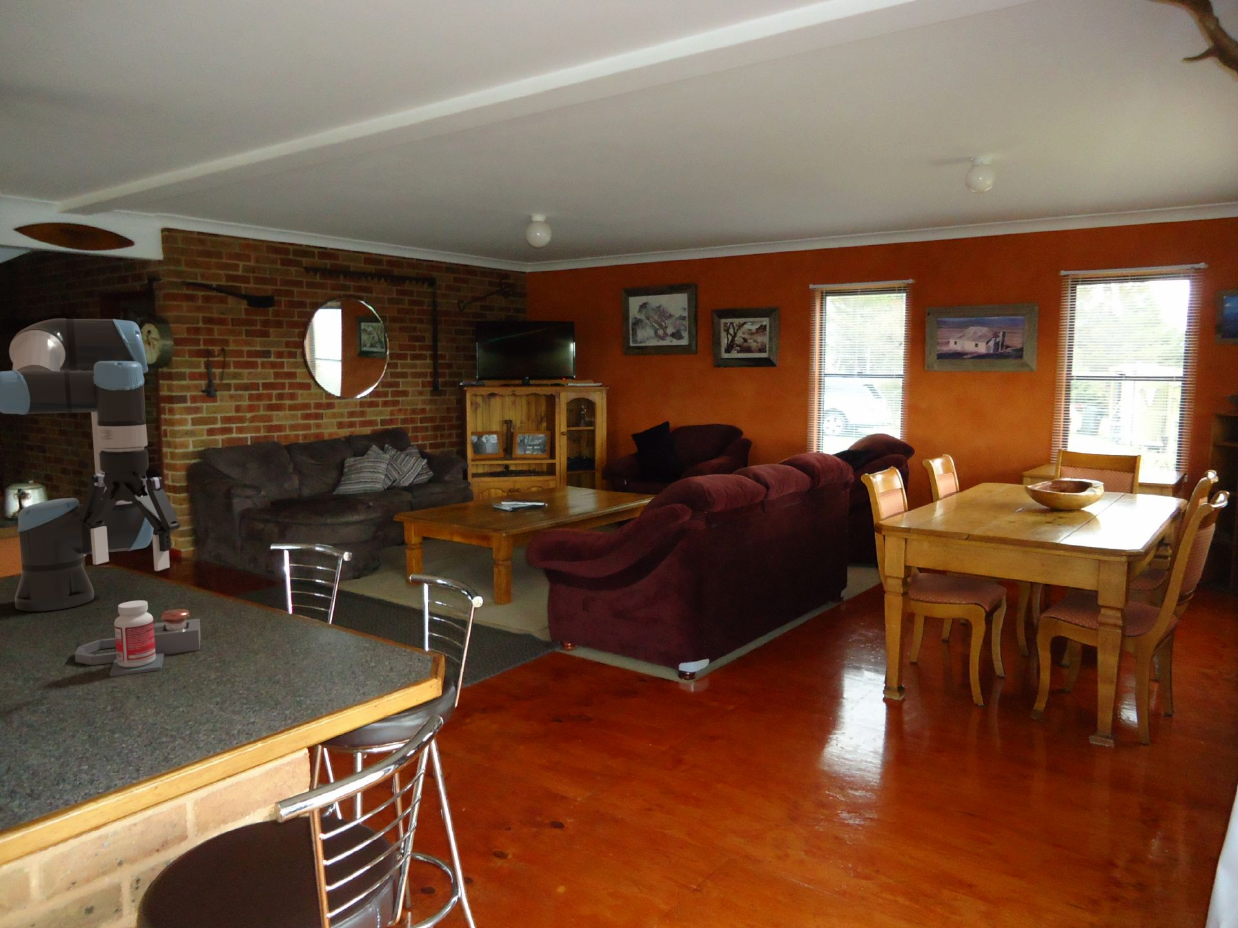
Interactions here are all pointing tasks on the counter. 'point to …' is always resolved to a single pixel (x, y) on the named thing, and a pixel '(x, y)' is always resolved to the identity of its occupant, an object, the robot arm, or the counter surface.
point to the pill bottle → (134, 635)
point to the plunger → (175, 619)
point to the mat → (149, 667)
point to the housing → (163, 643)
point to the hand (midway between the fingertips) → (131, 565)
